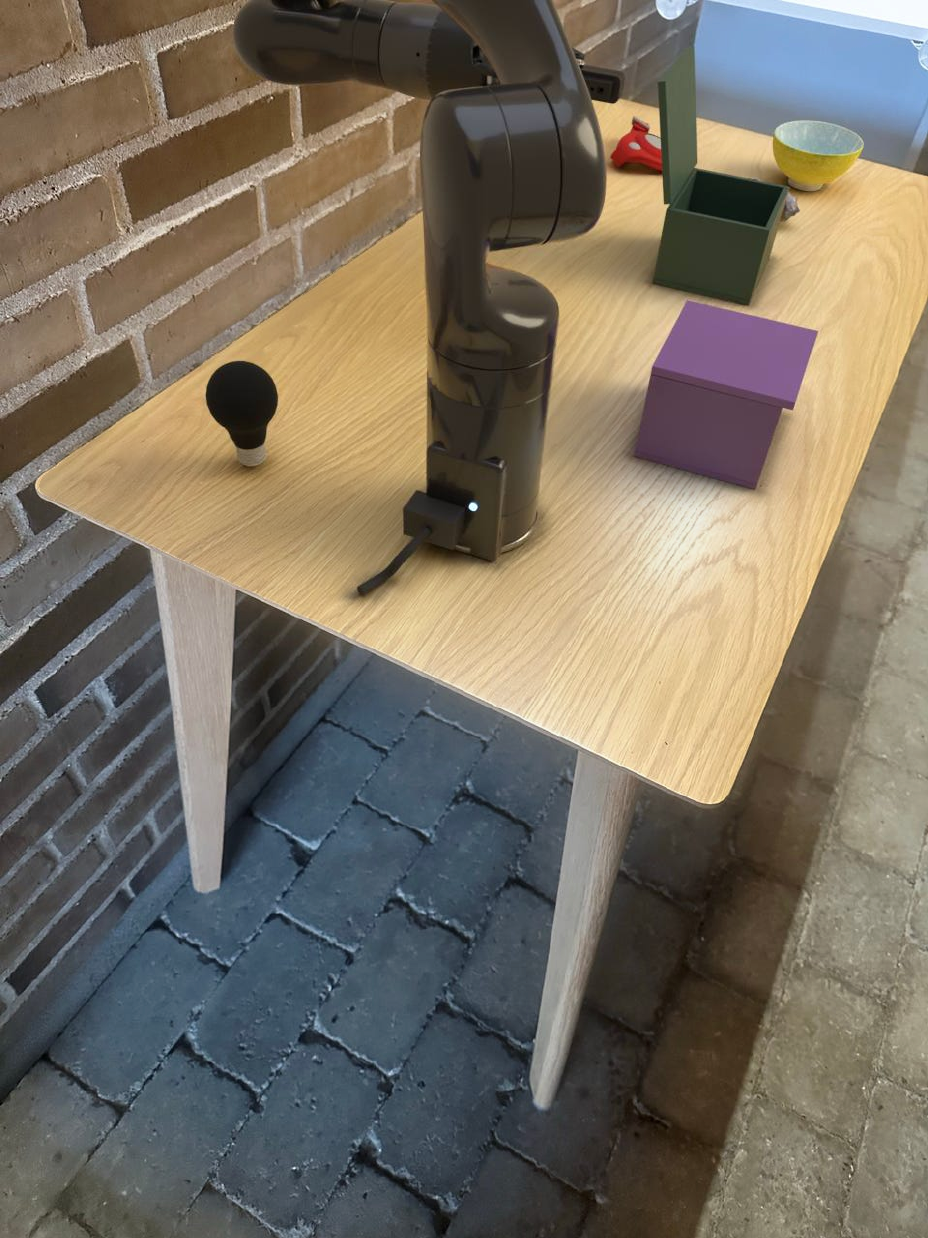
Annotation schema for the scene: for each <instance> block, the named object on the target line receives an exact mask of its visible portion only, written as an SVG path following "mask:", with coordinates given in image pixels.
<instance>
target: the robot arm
mask: <svg viewBox="0 0 928 1238" xmlns="http://www.w3.org/2000/svg"><path fill="white" fill-rule="evenodd" d="M431 1H432V2H433V3H434V4H431V3H427V2H426V3H425V2H399V1H394V0H340V1H338V2H336V0H246V2H244V3H243V5H242V6H241V7H240V8H239V10H238V12H237V13H236V15H235V16H234V19H235V20H233V23H234V25H233V24H232V28H233V35H234V43H235V47H234V49H235V48H236V50H235V52H236V51H237V52H236V54H237V56H238V58H239V57H240V58H239V60H240V61H241V62H242V63H243V64H244V65H245V67H247V69H248V70H250V71H251V72H252V73H253V74H255V75H256V76H258V77H259V78H262V79H263V80H264V81H265V80H266V81H268V82H270V83H273V84H278V85H283V86H314V85H316V86H317V85H331V84H338V83H339V84H340V83H347V82H348V83H349V82H352V83H356V84H360V85H365V86H370V87H375V88H381V89H385V90H390V91H394V92H397V93H399V94H402V95H404V96H408V97H412V98H415V99H420V100H426V101H429V103H428V105H427V106H426V109H425V112H424V115H423V118H422V123H421V124H422V125H421V130H420V142H419V172H420V174H419V175H420V177H419V178H420V191H421V192H420V193H421V206H422V209H421V210H422V222H423V223H422V224H423V247H424V249H423V251H424V288H425V290H424V291H425V303H426V321H427V322H426V452H425V455H426V457H425V459H426V460H425V461H426V462H425V471H426V472H425V473H426V474H425V481H426V482H425V491H422V490H419V489H416V490H415V491H414V493H412V495H411V496H410V498H409V499H408V500H407V502H406V504H404V506H403V507H402V519H403V520H402V524H403V525H402V526H403V527H402V531H403V535H404V536H407V537H410V538H411V539H410V540H409V542H408V543H407V544H406V545H405V546H404V547H403V548H402V549H401V550H400V551H399V553H397V554H396V556H395V557H394V558H393V559H392V560H391V561H390V563H388V565H387V566H386V567H385V568H384V569H383V570H381V571H380V572H379V573H377V574H376V575H375V576H373V577H371V578H369V579H368V580H366V581H365V582H363V583H361V584H359V585H358V586H357V587H356V590H357V593H358V594H359V595H360V596H361V597H364V596H366V595H367V594H368V593H370V592H372V591H374V590H376V589H377V588H379V587H380V586H382V585H383V584H385V583H386V582H387V581H389V580H390V579H391V578H392V577H393V576H394V575H395V574H397V572H398V571H399V570H400V569H401V568H402V566H403V565H404V564H405V563H406V562H407V561H408V560H409V558H411V557H412V555H413V554H414V553H416V551H417V550H418V549H419V548H420V547H421V546H422V545H423V543H424V542H426V543H429V544H431V545H432V544H433V545H436V546H438V547H442V548H445V549H448V550H451V551H454V550H455V551H457V552H461V553H464V554H468V555H471V556H475V557H478V558H481V559H484V560H487V561H490V562H495V561H497V559H498V557H499V556H500V555H501V554H503V553H506V552H509V551H512V550H514V549H517V548H518V547H520V546H521V545H524V543H526V542H527V541H528V540H529V539H530V537H532V535H533V533H534V531H535V530H536V526H537V521H538V504H539V502H538V501H539V494H540V484H541V475H542V467H543V458H544V450H545V442H546V434H547V433H546V432H547V425H548V415H549V414H548V413H549V407H550V400H551V399H550V398H551V390H552V382H553V375H554V367H555V358H556V352H557V351H556V350H557V342H558V335H559V334H558V333H559V325H560V308H559V303H558V301H557V299H556V297H555V296H554V294H553V293H552V291H551V290H550V289H549V288H548V287H547V286H545V284H543V283H541V282H540V281H539V280H537V279H536V278H534V277H531V276H530V275H527V274H525V273H522V272H519V271H516V270H513V269H509V268H506V267H503V266H498V265H495V264H492V263H489V262H487V258H488V254H489V253H491V252H492V253H493V252H500V251H507V250H515V249H523V248H531V247H538V246H545V245H551V244H557V243H558V244H559V243H564V242H569V241H573V240H576V239H579V238H581V237H583V236H585V235H587V234H588V233H590V232H591V231H592V230H593V229H594V228H595V226H596V225H597V223H598V222H599V220H600V218H601V217H602V213H603V210H604V206H605V203H606V195H607V182H608V181H607V180H608V179H607V175H608V174H607V162H606V151H605V145H604V142H603V135H602V129H601V127H600V123H599V119H598V116H597V112H596V110H595V106H594V104H593V101H595V102H600V103H606V104H611V105H613V104H616V103H618V101H619V100H620V99H621V98H622V96H623V94H624V87H625V81H626V80H625V79H626V75H625V73H624V72H623V71H621V70H617V69H611V68H605V67H599V66H594V65H588V64H586V60H585V56H586V55H585V53H583V52H581V51H579V50H578V49H576V48H574V47H572V45H571V42H570V40H569V38H568V35H567V33H566V30H565V28H564V25H563V22H562V20H561V17H560V15H559V13H558V10H557V7H556V5H555V1H554V0H431Z"/></svg>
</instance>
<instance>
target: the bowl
mask: <svg viewBox="0 0 928 1238" xmlns="http://www.w3.org/2000/svg"><path fill="white" fill-rule="evenodd" d="M772 137H773V138H772V151H773V158H774V160H775V162H776V165H777V167H778V168H779V170H780V171H781V172H782V174H784V176H786V177H788V180H787V183H788V186H789V187H792V188H793V189H796V190H799V191H802V192H803V191H804V192H815V191H816V192H817V191H819V190H820V189H822V187H823V184H826V183H830V182H832V181H835V180H837V179H839V178H840V177H842V176H843V175H844V174H845V173H847V172H848V171H849V170H850V169H851V168H852V166H853V165H854V164H855V162H856V161H857V160H858V158H859V157H860V155H861V153H862V151H863V149H864V145H865V144H864V140H863V139H862V137H860V135H858V134H857V133H856V132H855V131H853V130H850V129H849V128H847V127H844V126H842V125H838V124H835V123H831V122H826V121H820V120H806V119H805V120H804V119H803V120H802V119H801V120H792V121H787V122H784V123H781V124H779V125H778V126H777V127H776V128H775V129H774V132H773V136H772Z"/></svg>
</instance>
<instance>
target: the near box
mask: <svg viewBox="0 0 928 1238" xmlns="http://www.w3.org/2000/svg"><path fill="white" fill-rule="evenodd" d="M646 389H647V390H646V394H645V399H644V404H643V409H642V414H641V419H640V424H639V428H638V432H637V438H636V441H635V447H634V451H633V456H634V457H636V458H639V459H644V460H646V461H647V460H648V461H651V462H655V463H658V464H662V465H665V466H669V467H672V468H676V469H679V470H683V471H687V472H691V473H693V474H697V475H701V476H705V477H708V478H712V479H715V480H718V481H723V482H727V483H729V484H734V485H738V486H741V487H744V488H747V489H752V490H756V488H757V486H758V483H759V480H760V477H761V474H762V471H763V468H764V466H765V462H766V460H767V459H766V458H767V457H768V453H769V450H770V447H771V445H772V442H773V439H774V435H775V432H776V430H777V427H778V425H779V421H780V418H781V415H782V413H783V409H784V408H781V407H777V406H773V405H769V404H765V403H761V402H758V401H754V400H750V399H746V398H742V397H738V396H734V395H730V394H727V393H723V392H719V391H715V390H711V389H707V388H703V387H700V386H696V385H692V384H688V383H684V382H680V381H676V380H672V379H669V378H665V377H661V376H657V375H653V374H651V373H650V375H649V379H648V385H647V388H646Z"/></svg>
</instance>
